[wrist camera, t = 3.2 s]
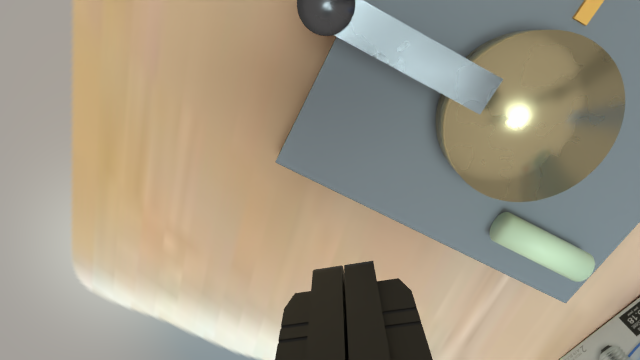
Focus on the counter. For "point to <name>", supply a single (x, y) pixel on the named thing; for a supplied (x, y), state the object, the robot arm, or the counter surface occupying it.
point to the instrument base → (434, 170)
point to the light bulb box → (612, 339)
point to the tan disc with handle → (499, 98)
